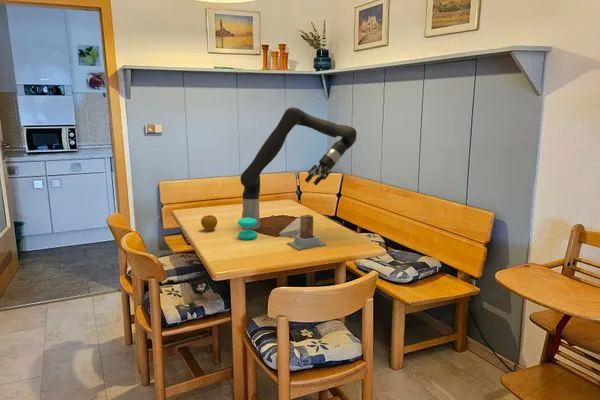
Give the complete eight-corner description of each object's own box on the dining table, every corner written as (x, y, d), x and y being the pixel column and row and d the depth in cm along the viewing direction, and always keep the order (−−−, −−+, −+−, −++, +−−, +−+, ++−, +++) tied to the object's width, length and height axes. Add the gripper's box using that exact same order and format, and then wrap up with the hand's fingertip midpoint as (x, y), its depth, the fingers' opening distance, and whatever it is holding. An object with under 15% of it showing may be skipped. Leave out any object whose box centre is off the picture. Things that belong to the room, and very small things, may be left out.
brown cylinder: (304, 245, 225) (304, 217, 223) (300, 243, 229) (300, 215, 226) (313, 243, 228) (313, 216, 225) (308, 241, 231) (309, 214, 228)
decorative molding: (281, 241, 244) (299, 238, 241) (279, 233, 244) (296, 229, 241) (298, 226, 276) (314, 222, 273) (296, 218, 276) (312, 215, 273)
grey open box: (298, 250, 220) (298, 241, 219) (287, 244, 229) (287, 236, 228) (326, 245, 228) (326, 237, 227) (314, 240, 237) (314, 231, 236)
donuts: (243, 216, 245) (260, 217, 242) (243, 234, 247) (260, 236, 244) (234, 220, 236) (251, 222, 233) (234, 239, 238) (252, 241, 235)
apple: (209, 227, 261) (209, 212, 259) (221, 230, 256) (220, 214, 254) (198, 231, 254) (197, 215, 252) (209, 233, 249) (208, 217, 247)
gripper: (318, 152, 239) (298, 176, 235) (333, 155, 227) (313, 180, 223) (326, 162, 242) (307, 185, 239) (342, 165, 230) (322, 190, 227)
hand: (310, 182), depth 231 cm, fingers open, 8 cm apart
